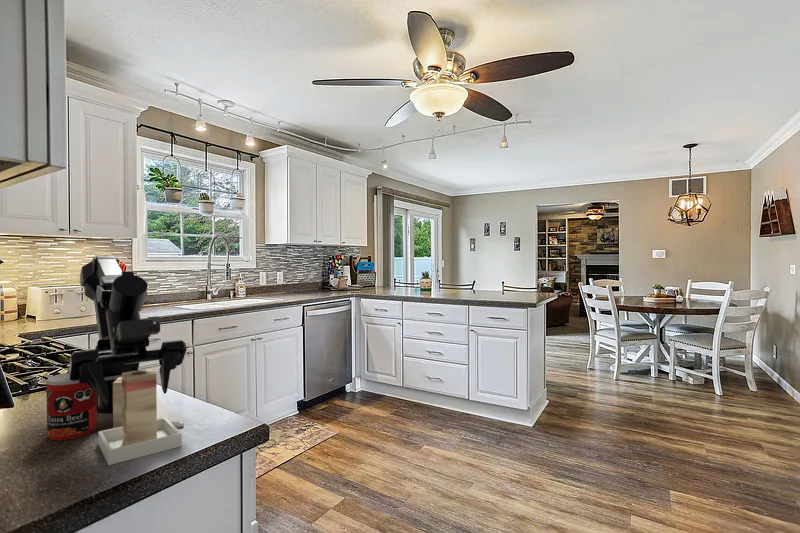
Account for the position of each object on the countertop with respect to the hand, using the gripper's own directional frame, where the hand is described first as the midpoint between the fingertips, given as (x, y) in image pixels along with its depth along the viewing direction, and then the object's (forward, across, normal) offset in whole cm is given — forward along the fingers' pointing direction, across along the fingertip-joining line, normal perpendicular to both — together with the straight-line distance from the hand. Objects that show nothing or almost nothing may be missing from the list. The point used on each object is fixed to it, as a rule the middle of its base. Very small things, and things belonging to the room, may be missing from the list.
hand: (137, 397), depth 80 cm
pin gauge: (+2, +5, +10) cm, 12 cm away
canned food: (-4, -8, +16) cm, 18 cm away
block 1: (-3, +1, +15) cm, 15 cm away
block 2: (+7, 0, +4) cm, 8 cm away
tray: (+7, 0, +5) cm, 8 cm away
